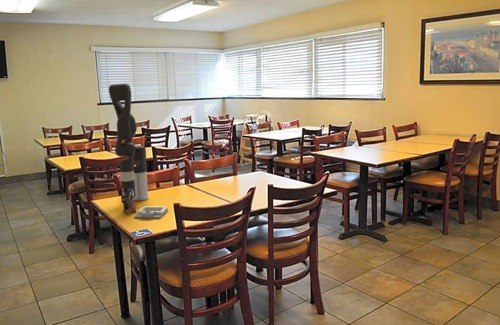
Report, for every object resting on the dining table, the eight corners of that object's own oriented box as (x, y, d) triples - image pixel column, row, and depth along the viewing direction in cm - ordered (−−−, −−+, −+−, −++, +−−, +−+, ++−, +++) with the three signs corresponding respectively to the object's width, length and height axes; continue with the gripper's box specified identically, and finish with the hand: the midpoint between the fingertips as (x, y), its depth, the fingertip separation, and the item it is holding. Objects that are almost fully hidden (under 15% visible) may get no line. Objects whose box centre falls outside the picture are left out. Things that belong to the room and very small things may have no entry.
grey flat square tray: (143, 210, 239) (143, 205, 239) (168, 211, 238) (167, 205, 237) (134, 218, 226) (134, 212, 225) (160, 218, 224) (159, 213, 223)
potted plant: (121, 212, 237) (120, 194, 235) (125, 210, 240) (124, 193, 238) (134, 213, 234) (132, 196, 232) (137, 211, 237) (136, 194, 235)
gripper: (126, 176, 241) (128, 203, 244) (115, 182, 227) (117, 211, 230) (138, 176, 240) (140, 204, 243) (128, 182, 226) (131, 211, 229)
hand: (129, 207), depth 237 cm, fingers open, 8 cm apart
